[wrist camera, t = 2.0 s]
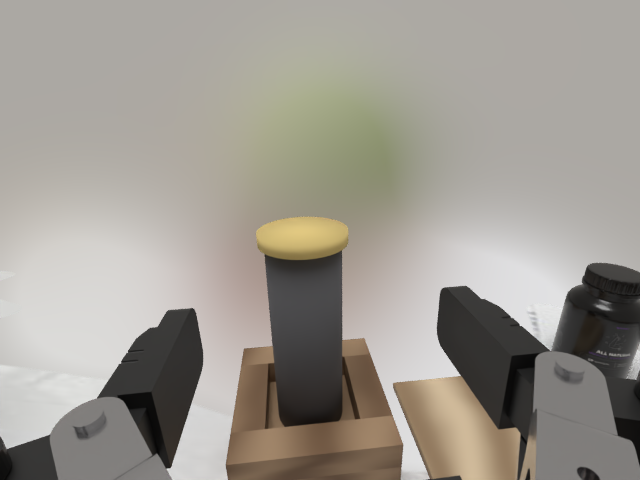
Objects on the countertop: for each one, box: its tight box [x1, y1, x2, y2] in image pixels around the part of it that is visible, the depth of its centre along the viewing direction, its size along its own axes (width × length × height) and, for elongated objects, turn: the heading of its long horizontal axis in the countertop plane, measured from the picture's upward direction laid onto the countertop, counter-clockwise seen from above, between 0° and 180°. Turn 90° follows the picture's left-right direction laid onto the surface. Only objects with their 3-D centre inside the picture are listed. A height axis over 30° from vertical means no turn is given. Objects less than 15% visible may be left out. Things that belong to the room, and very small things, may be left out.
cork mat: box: [393, 376, 520, 480], centre depth 31 cm, size 14×14×1 cm
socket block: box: [226, 338, 403, 480], centre depth 28 cm, size 11×11×8 cm
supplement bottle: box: [552, 263, 640, 379], centre depth 37 cm, size 7×7×12 cm
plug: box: [256, 217, 348, 427], centre depth 25 cm, size 6×6×15 cm
